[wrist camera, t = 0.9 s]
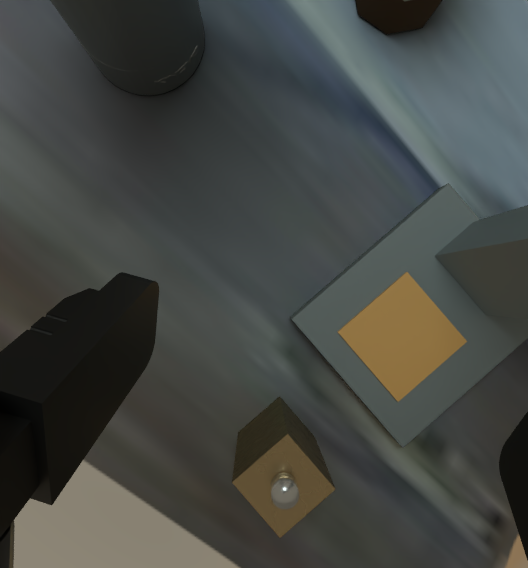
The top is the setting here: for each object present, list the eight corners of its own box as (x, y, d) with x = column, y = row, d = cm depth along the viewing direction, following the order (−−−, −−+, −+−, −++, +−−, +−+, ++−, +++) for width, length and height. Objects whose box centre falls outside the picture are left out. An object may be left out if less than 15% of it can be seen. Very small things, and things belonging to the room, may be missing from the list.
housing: (238, 432, 35) (230, 491, 25) (279, 396, 35) (289, 441, 25) (273, 473, 35) (281, 550, 25) (315, 437, 35) (339, 498, 25)
